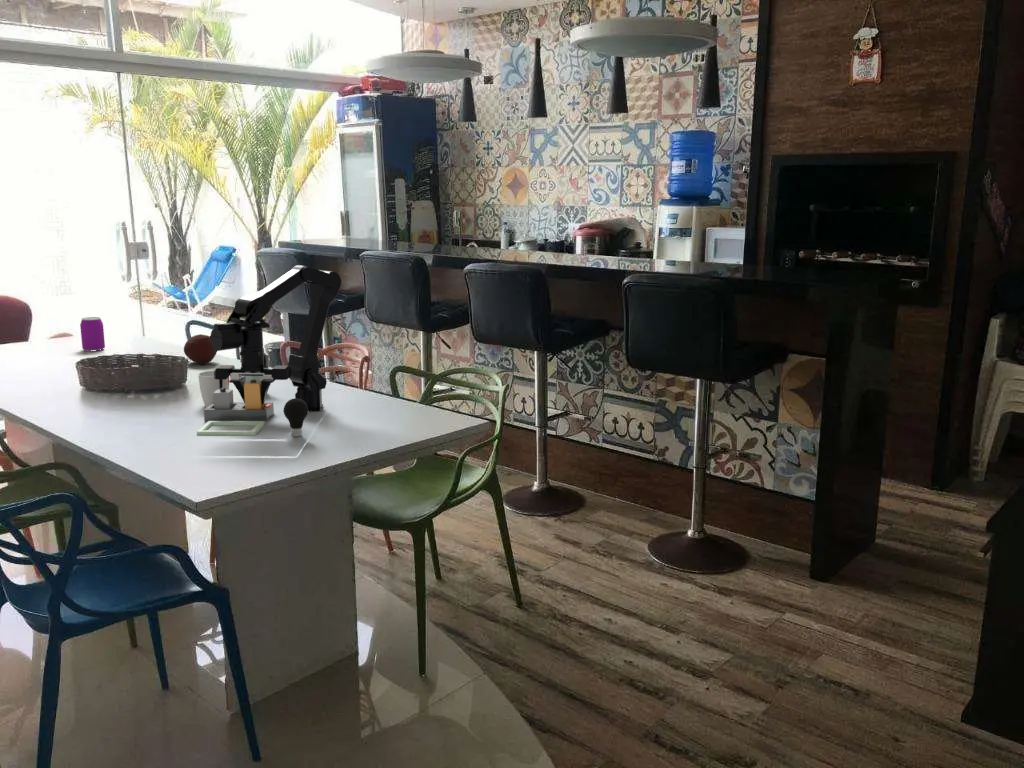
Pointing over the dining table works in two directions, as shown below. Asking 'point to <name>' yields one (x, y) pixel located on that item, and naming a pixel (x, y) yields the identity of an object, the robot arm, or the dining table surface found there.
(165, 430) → the dining table surface
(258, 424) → the tray
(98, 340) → the beverage can
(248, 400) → the plug
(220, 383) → the cup
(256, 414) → the strip
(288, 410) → the light bulb
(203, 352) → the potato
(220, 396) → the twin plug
